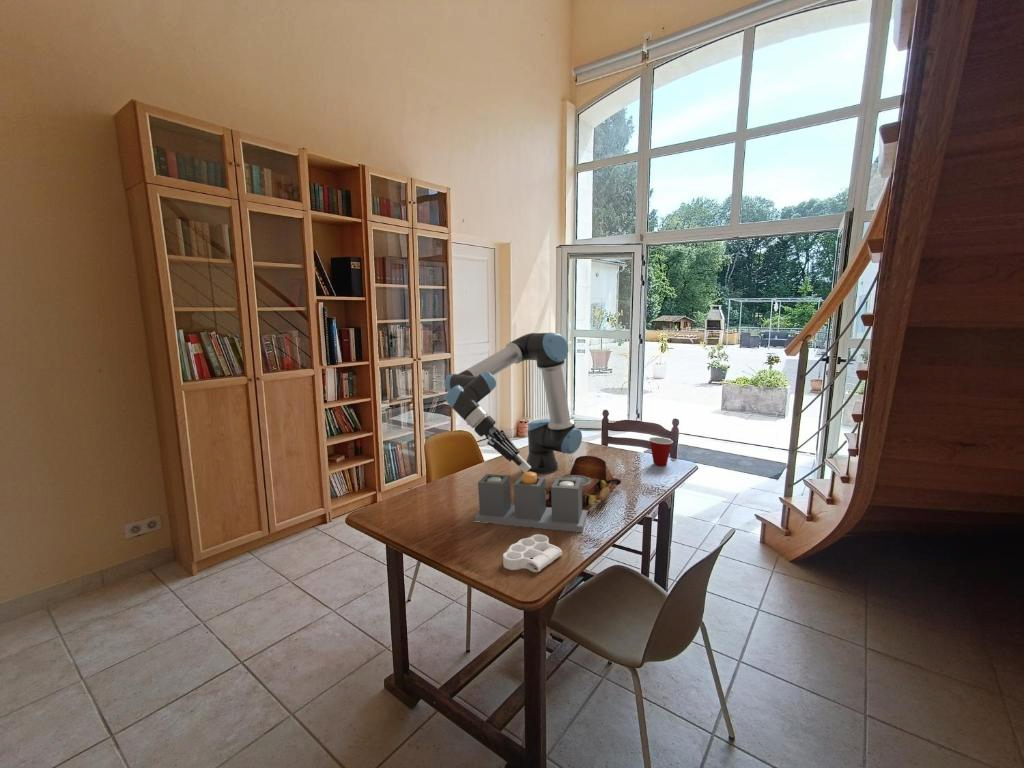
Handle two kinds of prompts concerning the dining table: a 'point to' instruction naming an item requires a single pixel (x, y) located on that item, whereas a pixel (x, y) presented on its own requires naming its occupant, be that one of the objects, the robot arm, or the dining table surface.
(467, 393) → the robot arm
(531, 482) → the orange button
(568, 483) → the cream button
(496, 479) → the sage button
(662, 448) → the plastic cup
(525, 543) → the white brass knuckles
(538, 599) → the dining table surface
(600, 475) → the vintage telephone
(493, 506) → the button stand
